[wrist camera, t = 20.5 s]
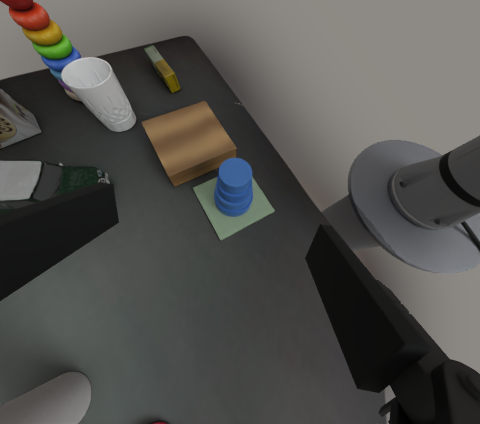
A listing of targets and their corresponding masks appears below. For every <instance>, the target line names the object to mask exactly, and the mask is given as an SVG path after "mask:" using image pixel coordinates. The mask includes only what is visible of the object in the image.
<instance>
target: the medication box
mask: <svg viewBox="0 0 480 424" xmlns="http://www.w3.org/2000/svg"><path fill="white" fill-rule="evenodd" d="M144 51H145V53H146V55H147V57H148V59H149V61H150V63H151V65H152V66H153V68H154V69H155V70H156V72H157V73H158V75H159V76H160V77H161V79H162V80H163V82H164V83H165V84H166V86H167V87H168V89H169V90H170V91H171V93H174V92H176V91H178V90H180V86H179V83H178V81H177V78H176V76H175V73H174V72H173V71H172V69H171V68H170V67H169V65H168V64H167V63H166V61H165V60H164V59H163V57H162V56H161V55H160V54H159V52H158V51H157V50H156V48H155V47H154V46H153V45H151V46H148V47H146V48H145V49H144Z"/></svg>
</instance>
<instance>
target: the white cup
mask: <svg viewBox="0 0 480 424" xmlns="http://www.w3.org/2000/svg"><path fill="white" fill-rule="evenodd" d="M61 78H62V80H63V82H64V83H65V84H66V85H67V86H68V87H69V88H70V89H71V90H72V92H73V93H74V94H75V95H76V96H77V97H78V98H79V99H80V100H81V101H82V102H83V103H84V105H85V106H86V107H87V108H88V109H89V110H90V111H91V112H92V113H93V114H94V115H95V116H96V117H97V118H98V119H99V120H100V121H101V122H102V123H103V124H104V125H105V127H107V128H108V129H109V130H111V131H115V132H122V131H126V130H128V129H130V128H132V127H133V126H134V124H135V123H136V116H135V114H134V112H133V110H132V108H131V105H130V103H129V101H128V99H127V97H126V95H125V93H124V91H123V89H122V87H121V85H120V83H119V81H118V79H117V77H116V76H115V74H114V72H113V70H112V68H111V66H110V64H109V63H108V62H106V61H105V60H102V59H99V58H94V57H87V58H81V59H77V60H74V61H72V62H70V63H69V64H68V65H66V66H65V67H64V69H63V70H62V73H61Z"/></svg>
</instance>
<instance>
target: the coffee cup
mask: <svg viewBox="0 0 480 424" xmlns="http://www.w3.org/2000/svg"><path fill="white" fill-rule="evenodd" d="M90 401H91V385H90V382H89V380H88V378H87V377H86V376H85V375H84V374H82V373H80V372H75V371H72V372H67V373H64V374H62V375H60V376H58V377H56V378H54V379H52V380H50V381H48V382H46V383H44V384H42V385H40V386H38V387H36V388H34V389H33V390H31V391H29V392H27V393H25V394H23V395H21V396H19V397H17V398H15V399H13V400H11V401H9V402H7V403H5V404H3V405H1V406H0V424H78V423H79V422H80V421H81V420H82V418H83V417H84V415H85V414H86V412H87V410H88V407H89V404H90Z"/></svg>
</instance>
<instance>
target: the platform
mask: <svg viewBox="0 0 480 424" xmlns="http://www.w3.org/2000/svg"><path fill="white" fill-rule="evenodd" d="M141 123H142V125H143V127H144V129H145V131H146V133H147V135H148V137H149V139H150V141H151V143H152V145H153V147H154V149H155V151H156V153H157V155H158V157H159V159H160V161H161V163H162V165H163V167H164V169H165V171H166V173H167V175H168V177H169V178H170V180H171V182H172V183H173V185H174V187H176V186H178V185H180V184H183V183H185V182H187V181H189V180H192V179H194V178H196V177H199V176H201V175H203V174H205V173H208V172H210V171H212V170H215V169H217V168H219V167H220V165H221V164H222V163H223V162H224V161H225V160H227V159H230V158H236V147H235V145H234V144H233V142H232V141H231V139H230V138H229V136H228V135H227V133H226V132H225V130H224V129H223V127H222V126H221V124H220V123H219V121H218V120H217V118H216V117H215V115H214V114H213V112H212V111H211V109H210V108H209V106H208V105H207V103H206V102H205V101H203V102H200V103H197V104H194V105H191V106H188V107H185V108H182V109H179V110H176V111H173V112H170V113H167V114H164V115H161V116H158V117H155V118H152V119H149V120H146V121H143V122H141Z"/></svg>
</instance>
